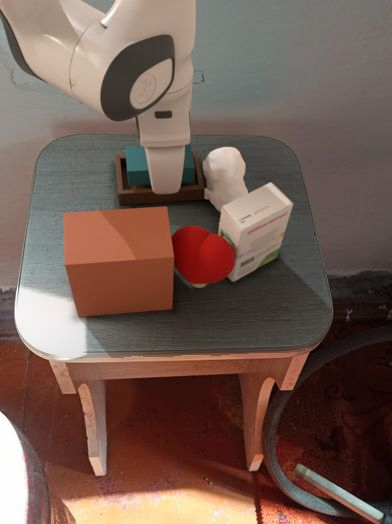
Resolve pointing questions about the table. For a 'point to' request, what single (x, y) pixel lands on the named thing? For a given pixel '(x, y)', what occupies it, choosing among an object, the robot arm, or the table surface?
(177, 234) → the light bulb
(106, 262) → the orange cardboard box
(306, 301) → the table surface
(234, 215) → the ink box
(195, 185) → the brown rectangular tray
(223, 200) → the white irregular lump
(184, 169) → the teal rectangular block
